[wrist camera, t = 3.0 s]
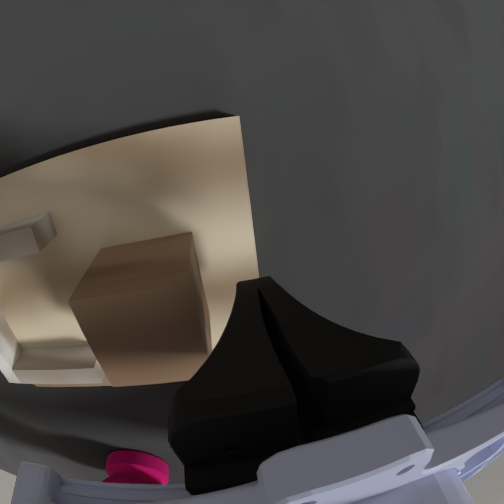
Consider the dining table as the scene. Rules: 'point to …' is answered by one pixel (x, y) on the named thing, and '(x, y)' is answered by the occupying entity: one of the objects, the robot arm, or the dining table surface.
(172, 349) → the block
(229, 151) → the board
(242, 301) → the robot arm
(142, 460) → the pepper mill
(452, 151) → the dining table surface
